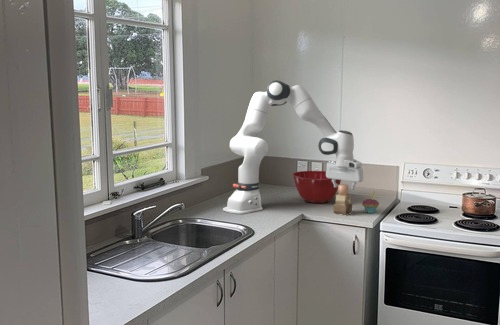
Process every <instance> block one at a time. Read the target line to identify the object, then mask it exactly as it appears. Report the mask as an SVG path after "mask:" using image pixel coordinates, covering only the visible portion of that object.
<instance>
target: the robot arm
mask: <svg viewBox="0 0 500 325" xmlns="http://www.w3.org/2000/svg"><path fill="white" fill-rule="evenodd" d="M287 103H288V104H290V105H291V107H292V108H293V110H294V112H295V114H297V116H298V117H299V118H300V120H302V121H306V122H308V123H311V124H313V125H315V126H316V127H317V128H318V130H319V131H320V133H321V134H322V135H323V136H324V137H322V138H321V139H320V140H319V141H318V143H317V144H318V145H317V146H318V150H319V152H320V153H321V154H322V155H325V156H330V155H335V160H328V161H327V163H326V177H327V178H330V179H332V182H333V184H334V187H335V188H337V187H338V184H336V179H338V180H341V181H345V182H351V186H349V190H350V191H354V190H355V186H356V185H357V183H362V182H363V181H364V170H363V168H362V167H363V162H361V161H359V160H357V159H355V158H354V153H353V152H354V147H355V144H354V142H355V141H354V140H355V139H354V135H353V133H352V132H351V131H348V130H338V131H336V130H335V129H334V127H333V126H332V125H331V123H330V122H329V121H328V119H327V118H326V116H325V115H324V114H323V113H322V111H321V110H320V108H319V107H318V106H317V104H316V103H315V101H314V100H313V98H312V96H311V95H310V93H309V92H308V91H307V90H306V88H305V87H303V86H302V85H299V84H296V85H293V86H291V87H290V85H289V84H287V83H285V82H284V81H282V80H277V79H275V80H272V81H270V82H269V84H267V87H266V91H256V92H254V93H253V95H252V97H251V99H250V101H249V105H248V107H247V111H246V114H245V117H244V118H245V119H244V121H243V124H242V126H241V127H240V129H239V131H238V132H237V134H236V135H235V136H233V137H232V138H231V139H230V140H229V149H230V151H231V152H232V153H233V154H236V155H238V156H241V157H244V158H243V162H242V163H241V164H240V165H239V166H238V170H237V171H238V172H237V173H238V174H237V178H238V180H237V183H233V184H232V187H233V188H234V189H235V190H234V191H233V193H232V194H231V195H230V196H229V197H228V199H227V203H226V204H227V206H225V207H223V208H222V211H223V212H226V213H230V214H236V215H244V214H249V213H254V212H258V211H263V209H264V208H263V207H262V198H261V193H260V185H261V184H260V181H259V180H260V178H259V177H260V176H259V175H260V165H261V163H262V160H263V158H264V157H265V156H267V153H268V151H269V144H268V143H267V141H266V140H265V139H263V138H260V137H257V135H258V134H259V133H260V132H261V131H262V130H263V129H264V128H265V125H266V121H267V118H268V114H269V111H270V108H271V107H277V106H280V107H281V106H284V105H286V104H287Z"/></svg>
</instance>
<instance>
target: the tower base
mask: <svg viewBox="0 0 500 325" xmlns="http://www.w3.org/2000/svg"><path fill="white" fill-rule="evenodd" d="M334 213H335V214H334ZM349 213H351V214H352V213H353V203H351V204H349V205H346V206H342V205H337V204H336V203H334V204H333V214H334V215H339V214H342V215H341V216H345V215H346V216H348V215H350V214H349ZM347 214H348V215H347Z"/></svg>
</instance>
